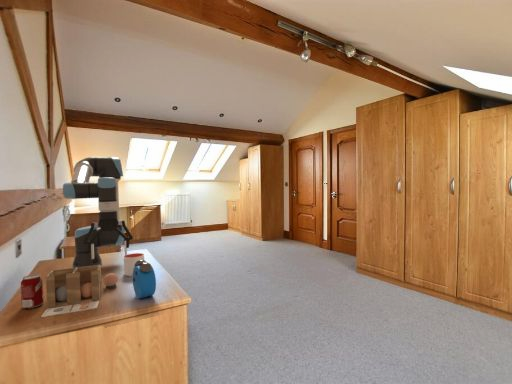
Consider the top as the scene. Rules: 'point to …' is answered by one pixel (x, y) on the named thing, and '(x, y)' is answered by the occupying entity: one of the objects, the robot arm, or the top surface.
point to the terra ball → (110, 279)
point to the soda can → (31, 291)
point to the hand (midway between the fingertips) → (109, 256)
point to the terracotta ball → (86, 290)
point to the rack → (73, 285)
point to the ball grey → (61, 294)
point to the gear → (110, 287)
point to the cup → (131, 262)
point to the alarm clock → (143, 279)
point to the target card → (70, 308)
